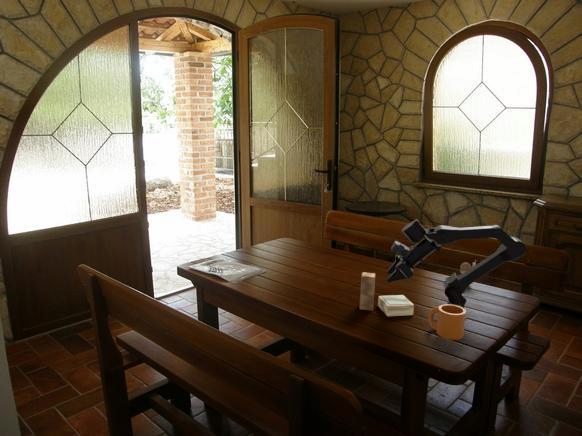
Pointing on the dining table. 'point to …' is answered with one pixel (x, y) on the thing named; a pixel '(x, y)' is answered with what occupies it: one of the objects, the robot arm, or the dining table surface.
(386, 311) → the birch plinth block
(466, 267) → the snail figurine
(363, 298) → the tan wooden block
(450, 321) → the mug
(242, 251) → the dining table surface
